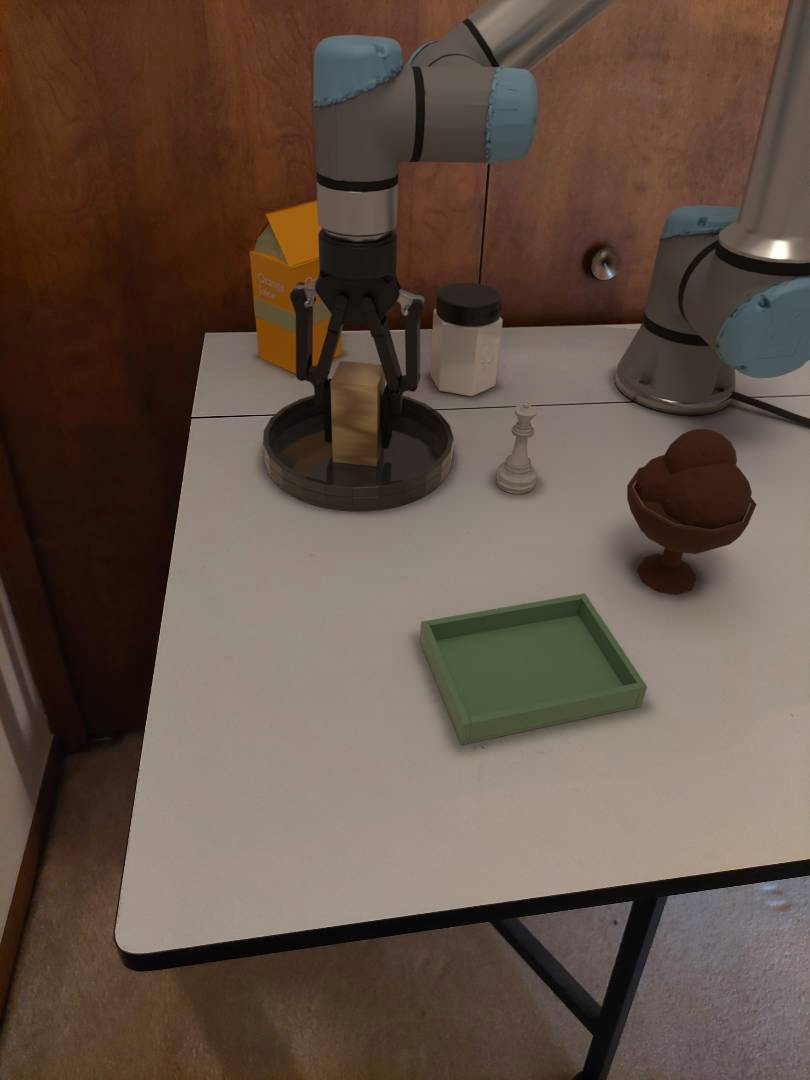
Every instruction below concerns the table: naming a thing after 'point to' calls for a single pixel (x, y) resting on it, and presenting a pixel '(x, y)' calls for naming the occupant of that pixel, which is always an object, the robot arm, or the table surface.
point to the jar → (466, 338)
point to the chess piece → (519, 456)
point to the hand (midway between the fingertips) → (358, 438)
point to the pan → (316, 479)
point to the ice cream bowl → (689, 505)
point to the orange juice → (286, 282)
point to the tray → (528, 667)
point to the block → (357, 413)
